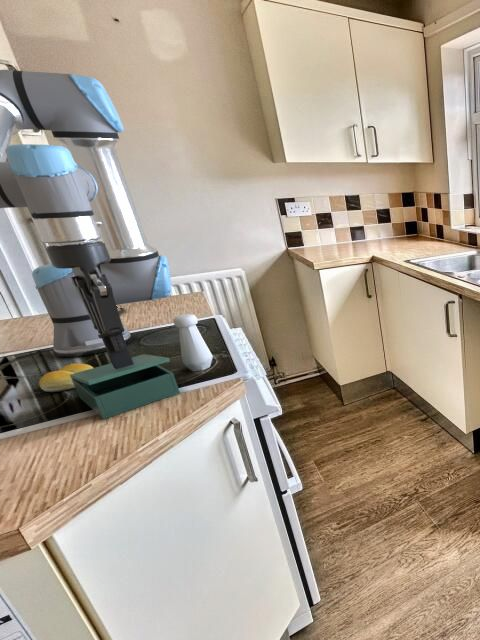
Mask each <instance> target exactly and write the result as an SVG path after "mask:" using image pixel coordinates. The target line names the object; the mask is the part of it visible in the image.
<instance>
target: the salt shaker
mask: <svg viewBox="0 0 480 640" xmlns="http://www.w3.org/2000/svg"><path fill="white" fill-rule="evenodd" d="M172 320H173V321H172V322H173V325H174V326H175V327H176V328H178V332H179V333H178V335H179V343H180V344H179V345H180V355H181V356H180V357H181V362H182V363H183V365H184V366H185V367H186V368H187V369H188V370H189V371H192V372H199V371H204V370H206V369H209V368H211V365H212V361H213V357H214V355H213V354H212V352H211V351H210V348H209V347H208V345H207V343H206V342H205V339H204V338H203V336H202V334H201V332H200V331H199V328H198V327H197V324H198V318H197V316H196V314H193V313H182V314H179V315H176V316H174V318H173V319H172Z"/></svg>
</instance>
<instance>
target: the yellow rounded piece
mask: <svg viewBox="0 0 480 640" xmlns="http://www.w3.org/2000/svg"><path fill="white" fill-rule="evenodd" d="M92 368H94V366H92V365H90V364H87V363H83V362H82V363H81V362H80V363H77V362H76V363H68V364H66V365H64V366H62V367H61V368H60V369H59V370H53V371H49V372H47V373H45V374H44V375H42V376H41V378H40V379H39V382H38V385H39V387H40V389H41V390H42V391H44V392H47V393H57V392H63V391H68V390H73V389H76V388H75V386H74V383H73V381H72V378H71V377H70V374H74V373H78V372H81V371H85V370H89V369H92Z"/></svg>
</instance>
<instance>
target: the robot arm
mask: <svg viewBox="0 0 480 640" xmlns="http://www.w3.org/2000/svg"><path fill="white" fill-rule="evenodd" d="M23 130H31V131H32V130H33V131H34V130H36V131H37V130H38V131H51V134H52V136H53V139H54V140H55V141H57V142H58V143H60V144H61V145H55V144H35V143H34V144H32V143H31V144H29V143H28V144H27V143H25V144H11V142H12V138H13V136H15V135H17V134H18V133H20V131H23ZM124 131H125V128H124V125H123V123H122V121H121V117H120V115H119V114H118V111H117V109H116V107H115V105H114V103H113V101H112V99H111V97H110V95H109V93H108V92H107V89H105V87H104V85H103V84H102V83H101V81H99V80H98V79H96V78H94V77H92V76H87V75H81V74H73V73H59V72H43V71H42V72H41V71H28V70H16V69H0V209H12V208H13V209H14V208H15V209H16V208H28V210H29V212H30V214H31V217H32V222H33V224H34V226H35V229H36V231H37V233H38V235H39V238H40V241H41V243H44V244H48V245H47V246H46V248H45V251H46V253H47V256H48V258H49V260H50V263H48V264H43V265H40V266H38V267H35V268H34V269H33V271H32V273H31V275H32V279H33V281H34V284H35V289H36V291H37V292H38V294H39V296H40V298H41V301H42V302H43V305H44V307H45V309H46V312H47V313H48V316H49V318H50V320H51V322H52V325H53V342H52V343H53V344H52V345H53V346H52V348H53V351H54V354H55V355H56V356H57V357H61V358H74V357H75V358H76V357H83V356H89V355H96V354H100V353H103V352H107V354H108V357H109V360H110V363H112V365H113V367H114V368H115V369H119V368H123V367H126V366H130V365H133V364H134V363H133V361H132V355H131V353H130V350H129V347H128V345H127V344H129V343H130V342H131V341H132V340H133V337H132V335H131V332H130V331H129V329H128V328H126V327H125V326H124V324H123V323H122V319H121V314H123V313H124V312H125V308H124V307H123V308H118V307H117V306H116V305H124V304H131V303H138V302H147V301H153V302H154V300H160V299H165V298H168V297H170V296H171V294H172V292H173V291H172V289H173V287H172V277H171V271H170V266H169V261H168V257H167V256H166V255H163V254H159V251H158V249H157V247H154V246H152V245H150V243H148V241H147V236H146V235H145V231H144V229H143V226H142V223H141V220H140V217H139V215H138V212H137V209H136V206H135V203H134V200H133V197H132V195H131V191H130V189H129V185H128V183H127V180H126V177H125V174H124V171H123V168H122V165H121V163H120V160H119V157H118V154H117V151H116V146H117V145H118V143H119V142H120V141H121V140H120V136H119V134H120V133H123V132H124ZM118 133H119V134H118ZM62 145H63V146H62ZM7 160H8V161H7ZM99 239H102V241H100V240H99ZM117 308H118V309H117ZM119 309H120V310H119Z"/></svg>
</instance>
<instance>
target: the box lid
mask: <svg viewBox="0 0 480 640" xmlns="http://www.w3.org/2000/svg"><path fill="white" fill-rule="evenodd" d="M131 358H132V361H133V363H134V364H133V365H130V366H126V367H123V368H119V369H115V368H114V367H113V365H112V362H110V363H107V364H103V365H100V366H96V367H93V368H92V369H89V370H85V371H81V372H78V373H74V374H70V377H71V378H72V379H75V380H77V381H80V382H82V383H85V384H88V385H92V384H95V383H99V382H102V381H106V380H109V379H112V378H116V377H119V376H122V375H126V374H129V373H132V372H136V371H139V370H143V369H146V368H149V367H153V366H156V365H159V366H160V365H163V364H166V363H170V358H169V357H166V356H158V355H152V354H146V353H143V354H140V355H135V356H133V357H132V356H131Z"/></svg>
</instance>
